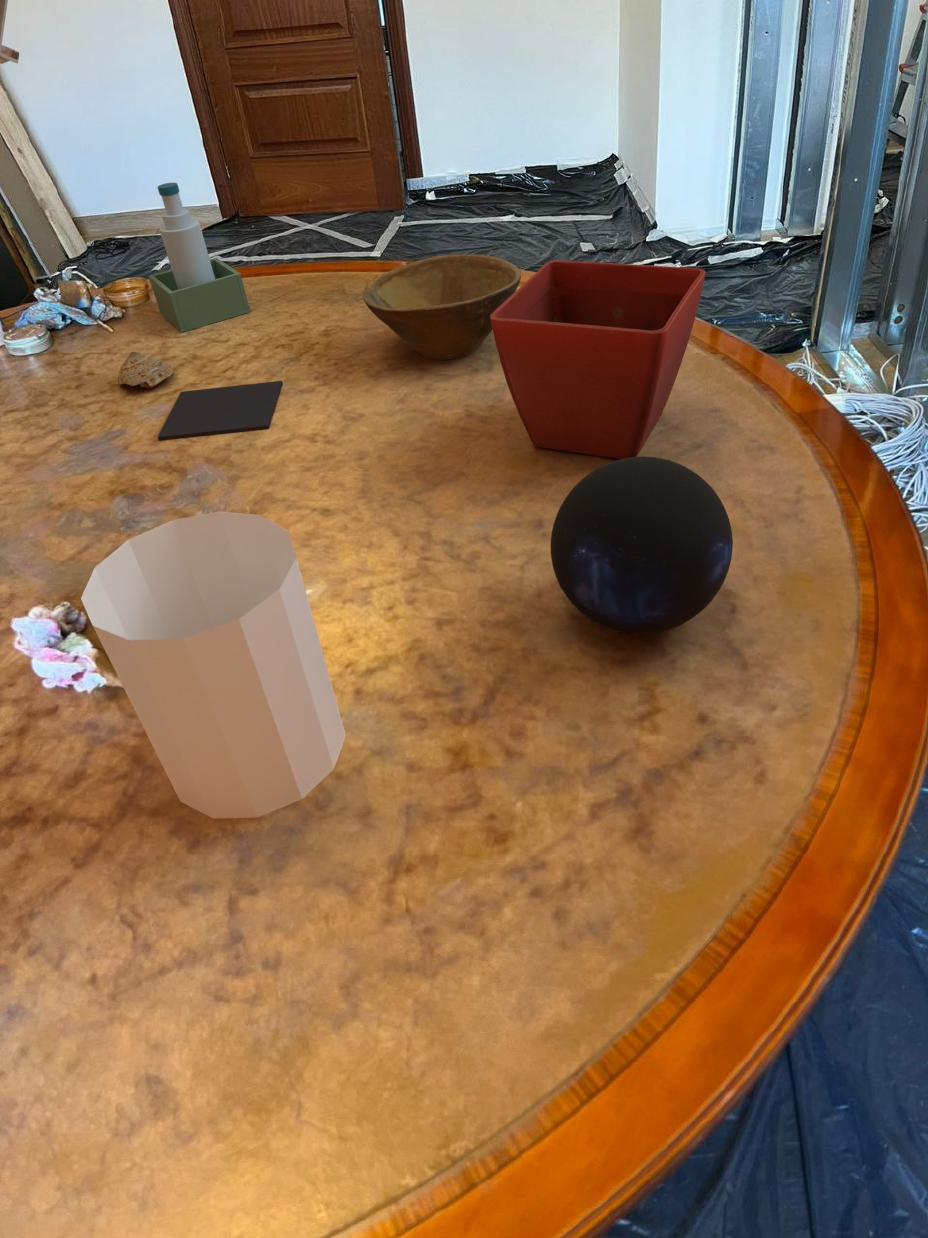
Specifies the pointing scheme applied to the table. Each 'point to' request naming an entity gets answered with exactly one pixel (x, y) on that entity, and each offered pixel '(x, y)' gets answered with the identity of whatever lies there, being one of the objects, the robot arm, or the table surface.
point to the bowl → (443, 301)
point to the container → (220, 660)
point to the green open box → (201, 298)
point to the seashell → (143, 370)
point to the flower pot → (596, 351)
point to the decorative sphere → (641, 545)
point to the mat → (222, 410)
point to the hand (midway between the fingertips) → (20, 19)
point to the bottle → (183, 241)
